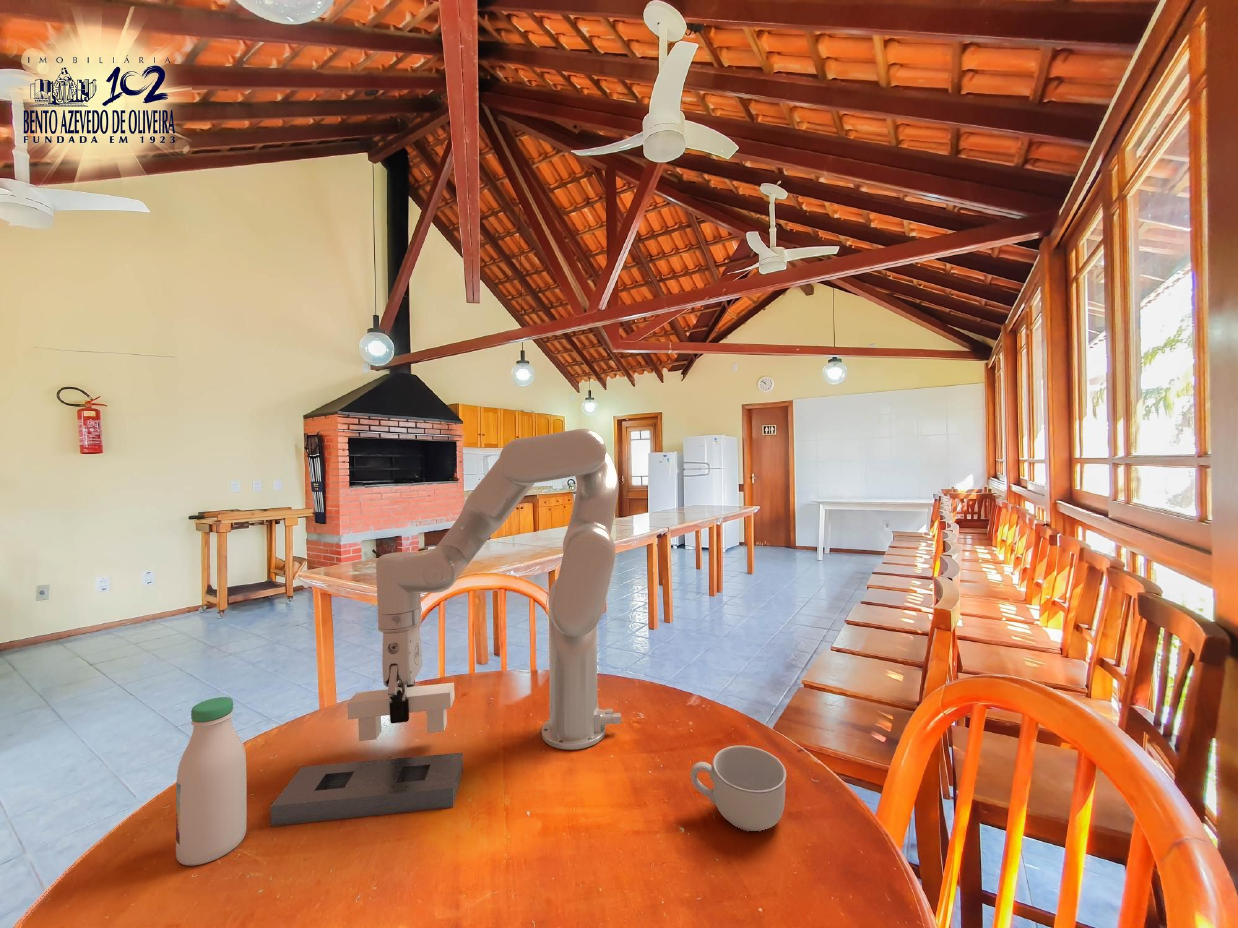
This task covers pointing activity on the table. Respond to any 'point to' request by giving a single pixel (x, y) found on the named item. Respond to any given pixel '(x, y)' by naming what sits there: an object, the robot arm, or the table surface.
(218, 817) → the milk bottle
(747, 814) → the teacup
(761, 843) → the table surface
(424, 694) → the white peg bar
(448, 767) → the grey base board
